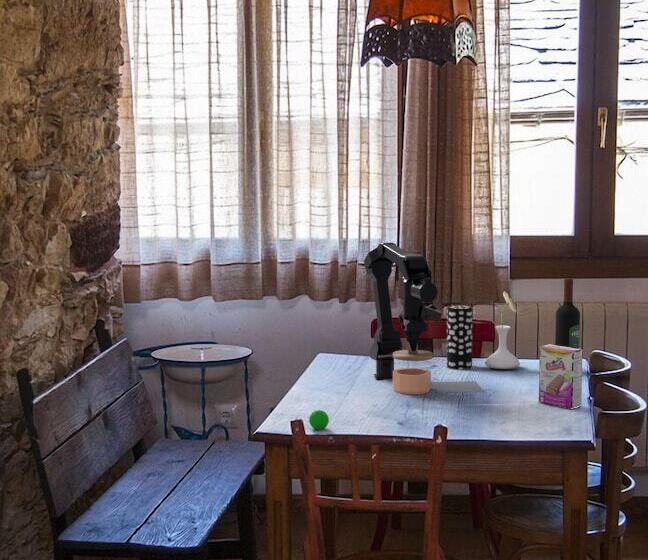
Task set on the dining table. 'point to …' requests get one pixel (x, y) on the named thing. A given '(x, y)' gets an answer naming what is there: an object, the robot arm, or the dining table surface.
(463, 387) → the mat
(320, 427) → the green ball
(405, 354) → the lid
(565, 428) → the dining table surface
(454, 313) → the spotted tube
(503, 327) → the flower in vase
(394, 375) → the bowl
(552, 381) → the candy bar box
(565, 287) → the wine bottle
